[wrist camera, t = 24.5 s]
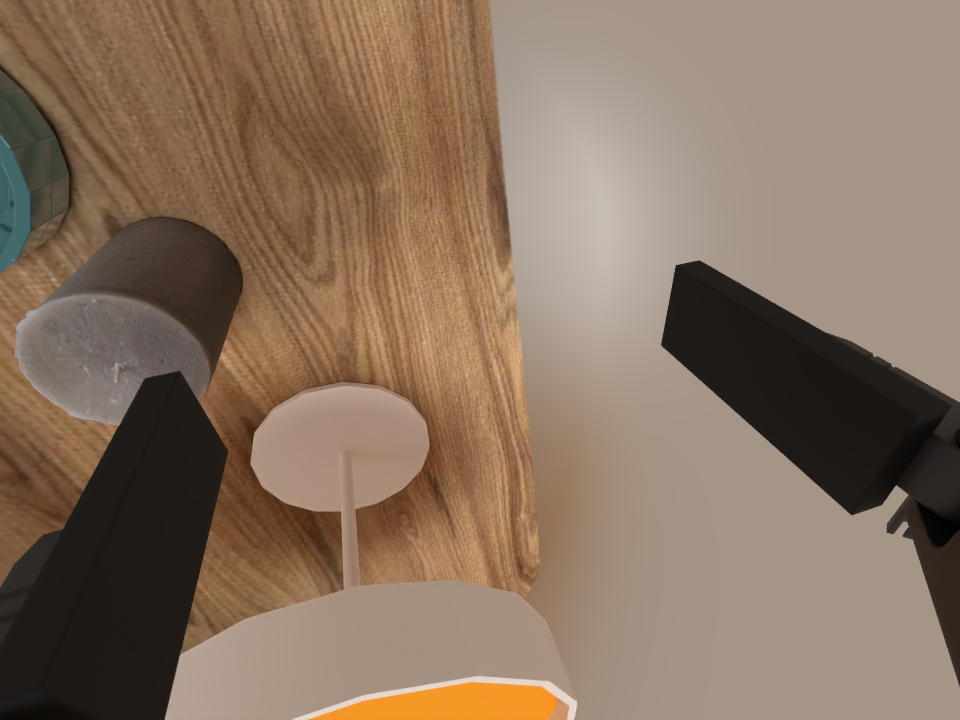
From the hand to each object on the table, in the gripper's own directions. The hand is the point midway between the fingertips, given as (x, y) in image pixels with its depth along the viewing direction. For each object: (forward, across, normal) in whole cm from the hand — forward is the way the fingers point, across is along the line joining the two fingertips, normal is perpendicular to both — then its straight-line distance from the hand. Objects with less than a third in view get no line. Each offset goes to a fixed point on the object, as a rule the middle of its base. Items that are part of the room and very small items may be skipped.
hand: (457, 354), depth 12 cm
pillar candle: (+31, -18, -7) cm, 36 cm away
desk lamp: (+31, -10, -32) cm, 45 cm away
